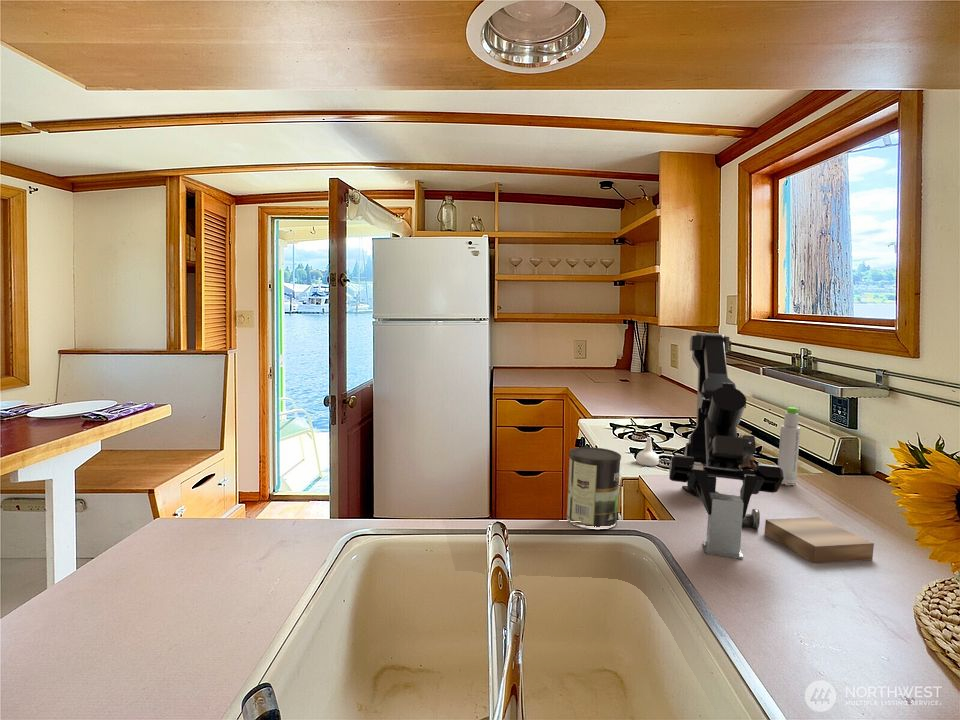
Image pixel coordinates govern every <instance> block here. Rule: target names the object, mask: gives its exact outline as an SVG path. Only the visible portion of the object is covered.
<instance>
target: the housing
mask: <svg viewBox="0 0 960 720" xmlns="http://www.w3.org/2000/svg"><path fill="white" fill-rule="evenodd" d="M718 493H719V492H718ZM718 493H710V499H711V515H709V514H708V513H707V527H706V539H705V540H704V541H702V545H703V549H704V553H705V552H706V553H707V554H706V553H705V554H706V555H711V554H712V555H711V556H717V555H719V556H718V557H724V556H725V558H730V557H732V559H737V558H738V559H737V560H744V556H743V553H742V551H741V541H742V531H743V530H742V528H743V525H742V517H743V505H744V503H743V501H742V499H741V497H740V495H734V494H726V493H720V494H718Z"/></svg>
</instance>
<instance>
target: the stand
mask: <svg viewBox="0 0 960 720" xmlns="http://www.w3.org/2000/svg"><path fill="white" fill-rule="evenodd" d="M764 523H765V524H764V532H763V533H764V535H765V536H767V537H768V538H770V539H772V540H774V541H775V542H777V543H779V544H780V545H783V546H784V547H786V548H787V549H789V550H791V551H792V552H794V553H795V554H798V555H799V556H801V557H803V558H805V559H806V560H808V561H810V562H811V563H813V564H819V563H821V564H823V563H836V562H837V563H838V562H839V563H840V562H853V561H854V562H855V561H857V562H858V561H872V560H873V558H874V557H873V556H874V555H873V554H874V548H875V547H874V546H875V543H874V542H872V541H870V540H868V539H865V538H863V537H861V536H859V535H857V534H855V533H853V532H851V531H848V530H846V528H845V529H844V528H842V527H840V526H839V525H836V524H834V523H832V522H830V521H828V520H825V519H824V518H822V517H818V516H817V517H815V516H814V517H813V516H812V517H794V518H793V517H791V518H766V519H765V522H764Z"/></svg>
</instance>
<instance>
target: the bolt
mask: <svg viewBox="0 0 960 720" xmlns="http://www.w3.org/2000/svg"><path fill="white" fill-rule="evenodd" d="M760 514H761V513H760V510H759V509H758V508H752V509H751V512H750V513H749V514H748V513H746V514H745V518H744V519H742V527H743V526H745V527H749V528H750V527H751V528H756V529H758V528H759V527H760V518H761V515H760Z"/></svg>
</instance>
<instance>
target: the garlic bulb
mask: <svg viewBox="0 0 960 720" xmlns="http://www.w3.org/2000/svg"><path fill="white" fill-rule="evenodd" d="M635 460H636V462H637V464H639V465H641V466H646V467H656V466H657V465H659V462H660V457H659V455H658V454H657V453H656V452H655V451H654V450H653V446H652V437H648V436H646V443H645V446H644V449H643V450H640V451H639V452H638V453H637V454H636V458H635Z"/></svg>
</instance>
